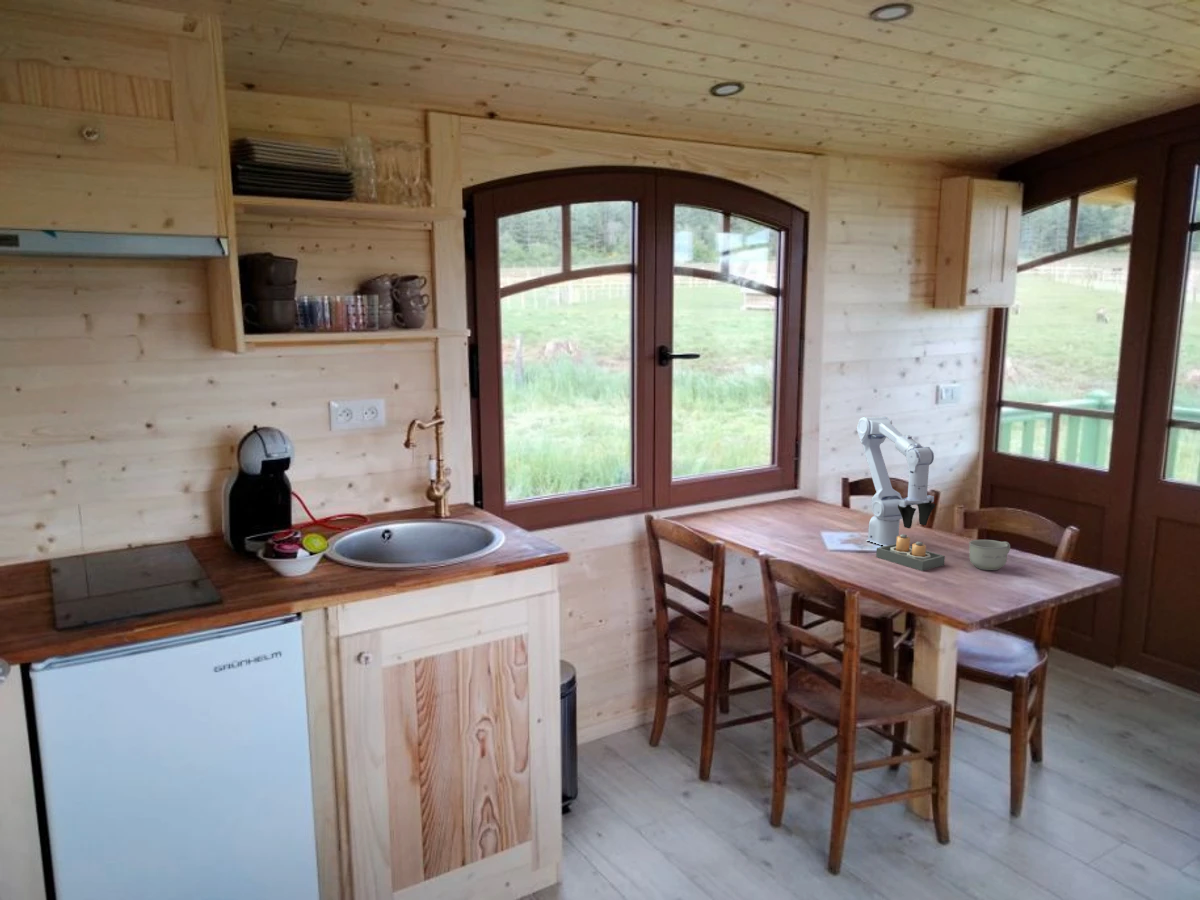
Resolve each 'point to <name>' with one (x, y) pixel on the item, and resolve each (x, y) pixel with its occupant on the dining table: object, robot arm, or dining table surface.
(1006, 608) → the dining table surface
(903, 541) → the orange battery
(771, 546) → the dining table surface
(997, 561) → the teacup
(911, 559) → the housing
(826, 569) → the dining table surface
